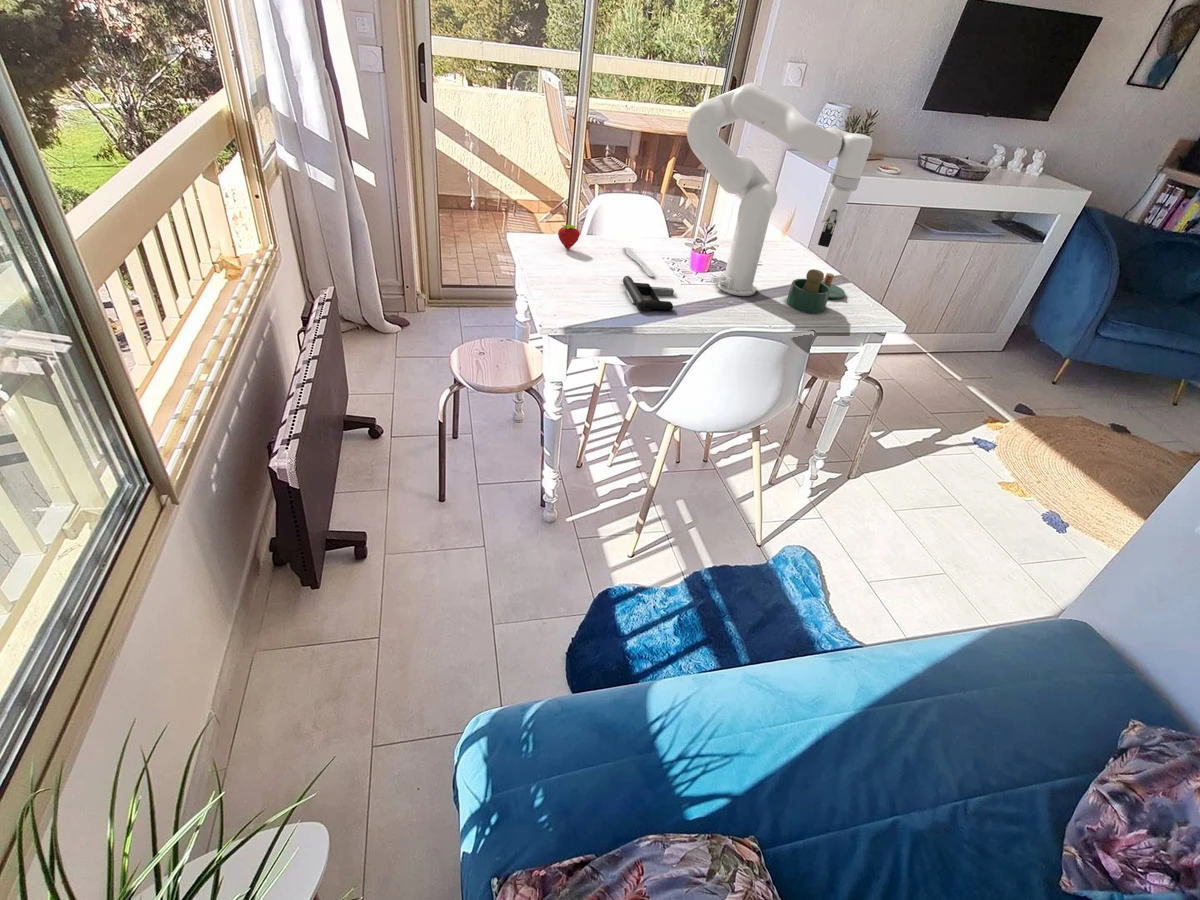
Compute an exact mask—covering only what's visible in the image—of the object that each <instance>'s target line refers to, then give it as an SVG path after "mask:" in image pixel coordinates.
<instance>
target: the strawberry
mask: <svg viewBox="0 0 1200 900" xmlns="http://www.w3.org/2000/svg"><path fill="white" fill-rule="evenodd" d="M569 223H570V221H568V222H567V224H561V228H559V229H558V232H557V236H558V239H559V241H560V243H561V244H562V245H563V247H564V249H566V250H570V249H571V248H572V247H573V246H574V245H575V244H576V243H577V242H578V241H579V238H580V235H581V234H580V231H579V230H578V228H577V226H574V224H573V225H572V224H569Z"/></svg>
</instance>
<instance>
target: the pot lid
mask: <svg viewBox="0 0 1200 900" xmlns="http://www.w3.org/2000/svg"><path fill="white" fill-rule="evenodd" d="M834 277H835V275H834V273H830V272H827V273H825V275H824V278H823V281H822V282H821V283H823V284H825V285H827V286H829V287H830V289H831V292H830V295H829V298H828V299H842V298H843V297H845V295H846V292H845V290H844V289H843V288H842V287H840V286H838V285H835V284H833V280H834Z"/></svg>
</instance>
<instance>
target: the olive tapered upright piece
mask: <svg viewBox="0 0 1200 900" xmlns="http://www.w3.org/2000/svg"><path fill="white" fill-rule="evenodd" d="M805 279H807V281H806V283H805V285H804V287H803V290H805V291H809V292H814V293H818V291H819V285H820V282H823V281H824V279H825V275H824V272H823V271H821V270H819V269H809V270H808V271H807V272H806V277H805Z"/></svg>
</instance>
